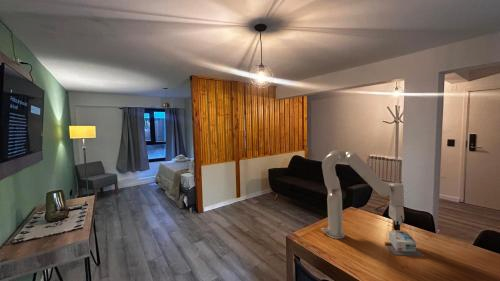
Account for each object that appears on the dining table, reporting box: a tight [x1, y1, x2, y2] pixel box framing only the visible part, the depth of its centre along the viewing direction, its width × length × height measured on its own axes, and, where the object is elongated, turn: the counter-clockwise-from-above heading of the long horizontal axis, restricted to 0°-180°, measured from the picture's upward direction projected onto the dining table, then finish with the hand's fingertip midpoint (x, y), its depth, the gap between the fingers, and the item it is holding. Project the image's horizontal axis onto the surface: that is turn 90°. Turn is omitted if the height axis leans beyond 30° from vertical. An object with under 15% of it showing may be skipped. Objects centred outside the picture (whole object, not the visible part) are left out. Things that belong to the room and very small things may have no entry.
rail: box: [384, 241, 393, 246], centre depth 136 cm, size 16×2×2 cm, turn 81°
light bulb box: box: [388, 230, 417, 252], centre depth 133 cm, size 11×7×11 cm
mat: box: [385, 245, 424, 257], centre depth 130 cm, size 16×10×1 cm, turn 81°
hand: (396, 229), depth 138 cm, fingers closed
